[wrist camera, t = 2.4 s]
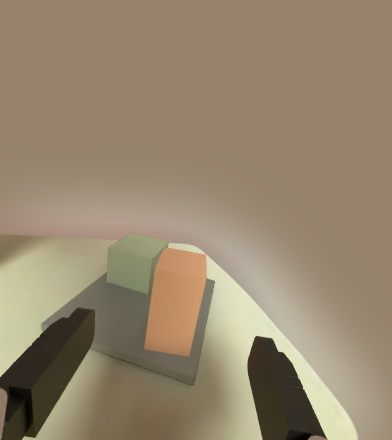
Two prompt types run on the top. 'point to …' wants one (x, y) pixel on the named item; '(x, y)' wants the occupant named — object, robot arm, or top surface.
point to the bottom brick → (134, 262)
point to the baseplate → (134, 327)
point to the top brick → (175, 301)
